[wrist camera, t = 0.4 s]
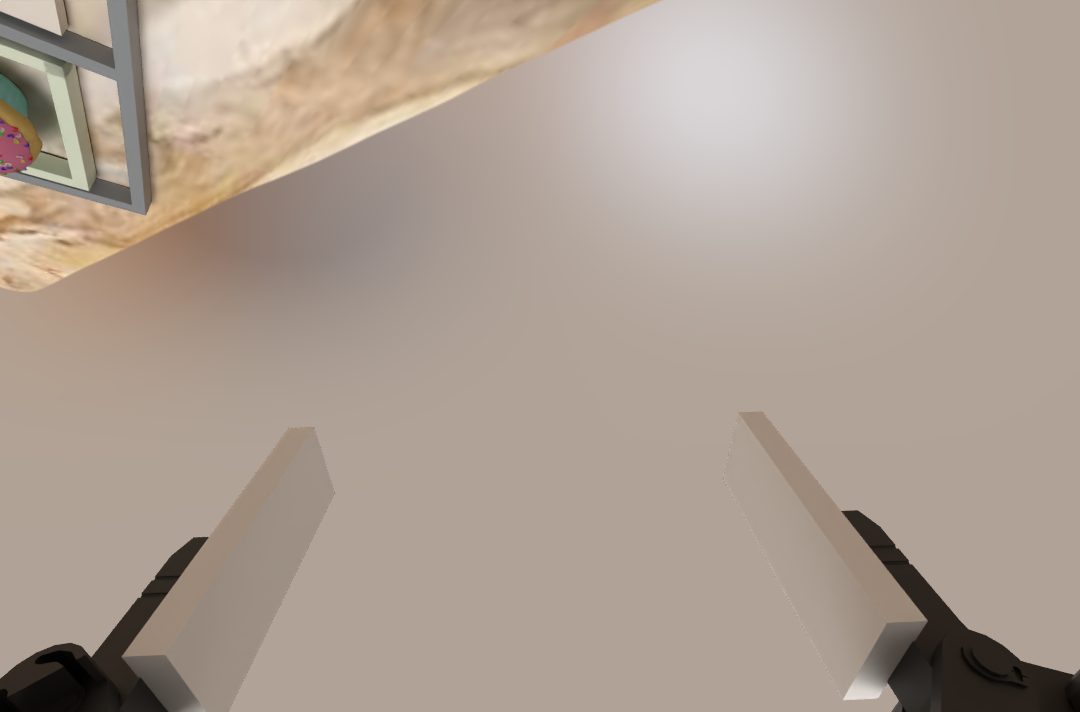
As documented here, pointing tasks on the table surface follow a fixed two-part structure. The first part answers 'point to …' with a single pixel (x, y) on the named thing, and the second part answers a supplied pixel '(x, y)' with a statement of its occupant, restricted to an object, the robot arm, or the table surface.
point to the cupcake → (15, 130)
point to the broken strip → (38, 13)
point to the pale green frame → (60, 118)
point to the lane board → (128, 74)
